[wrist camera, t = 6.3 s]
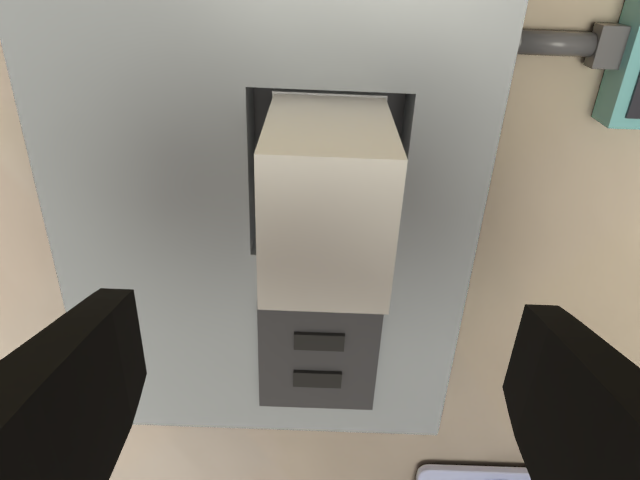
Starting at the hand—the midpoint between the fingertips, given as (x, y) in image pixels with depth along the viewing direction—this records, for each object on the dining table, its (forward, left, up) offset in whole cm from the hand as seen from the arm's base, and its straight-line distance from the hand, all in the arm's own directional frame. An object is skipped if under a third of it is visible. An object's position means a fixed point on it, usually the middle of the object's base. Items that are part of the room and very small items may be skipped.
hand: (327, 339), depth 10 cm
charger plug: (+1, 0, -9) cm, 9 cm away
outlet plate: (-2, +2, -9) cm, 10 cm away
